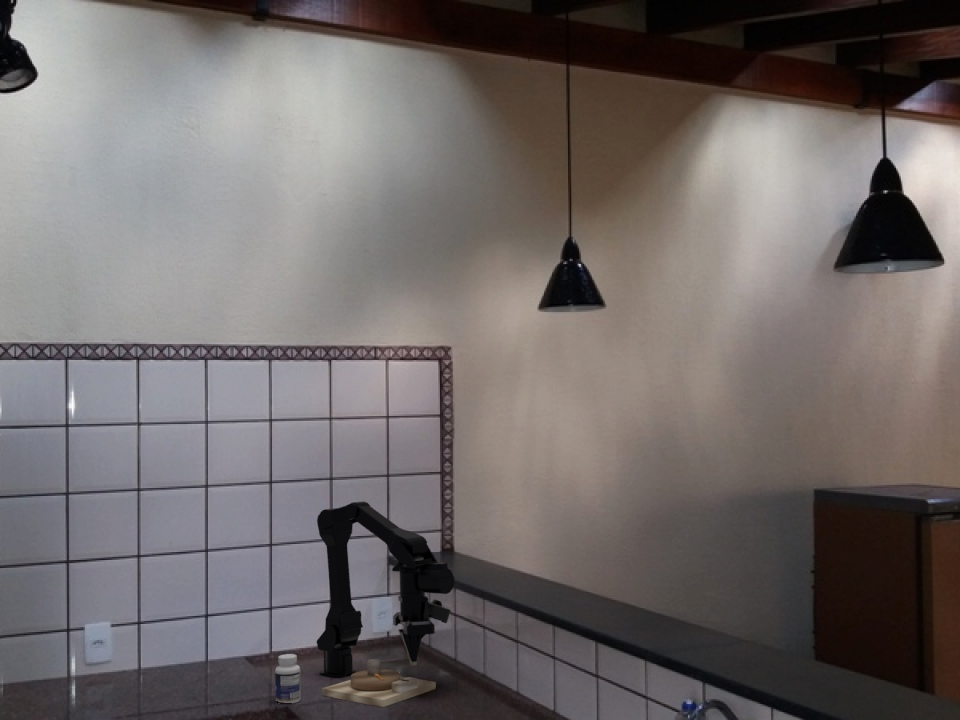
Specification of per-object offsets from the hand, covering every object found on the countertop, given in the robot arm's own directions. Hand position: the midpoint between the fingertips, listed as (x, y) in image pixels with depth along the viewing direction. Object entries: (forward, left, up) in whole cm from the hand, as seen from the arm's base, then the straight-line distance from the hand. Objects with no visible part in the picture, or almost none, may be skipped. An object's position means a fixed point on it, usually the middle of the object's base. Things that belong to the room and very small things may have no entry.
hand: (414, 661), depth 240 cm
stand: (-5, -6, -6) cm, 10 cm away
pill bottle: (-17, -23, -6) cm, 29 cm away
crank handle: (-5, -5, -4) cm, 8 cm away
